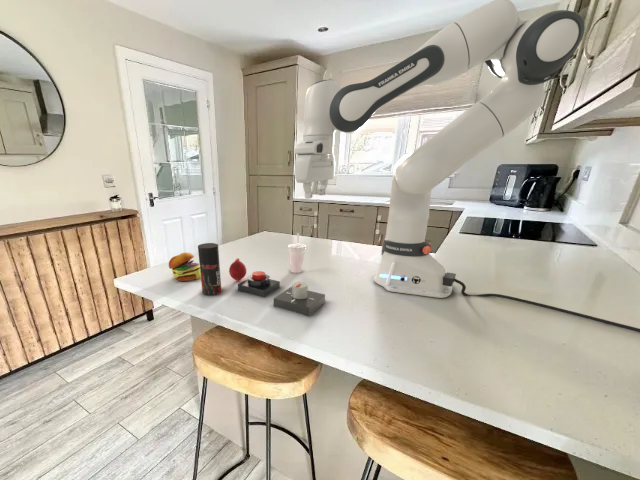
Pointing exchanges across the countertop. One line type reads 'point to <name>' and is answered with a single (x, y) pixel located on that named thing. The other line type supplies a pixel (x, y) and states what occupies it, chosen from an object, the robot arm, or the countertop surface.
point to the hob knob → (299, 290)
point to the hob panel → (299, 302)
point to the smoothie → (296, 255)
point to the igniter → (259, 286)
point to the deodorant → (209, 269)
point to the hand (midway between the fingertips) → (315, 196)
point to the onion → (237, 270)
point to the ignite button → (258, 275)
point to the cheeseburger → (184, 267)
